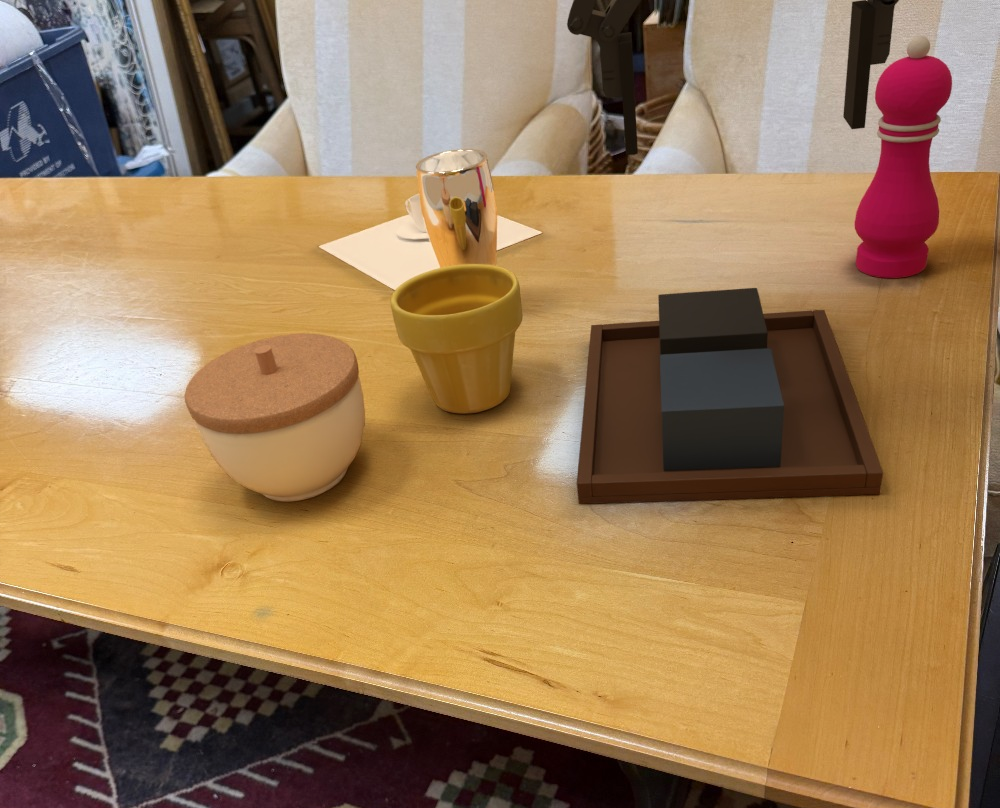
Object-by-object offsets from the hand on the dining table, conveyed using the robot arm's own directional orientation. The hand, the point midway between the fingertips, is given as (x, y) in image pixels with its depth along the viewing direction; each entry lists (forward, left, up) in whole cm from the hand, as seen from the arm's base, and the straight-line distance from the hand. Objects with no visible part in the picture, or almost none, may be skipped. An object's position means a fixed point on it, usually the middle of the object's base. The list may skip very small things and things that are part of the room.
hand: (740, 136), depth 57 cm
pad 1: (+1, -7, -20) cm, 22 cm away
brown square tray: (+1, -2, -21) cm, 21 cm away
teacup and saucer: (+32, -43, -21) cm, 58 cm away
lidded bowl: (+33, +5, -21) cm, 40 cm away
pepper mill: (-17, -26, -21) cm, 37 cm away
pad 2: (+1, +4, -20) cm, 21 cm away
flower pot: (+21, -6, -21) cm, 31 cm away
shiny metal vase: (+23, -22, -21) cm, 38 cm away
